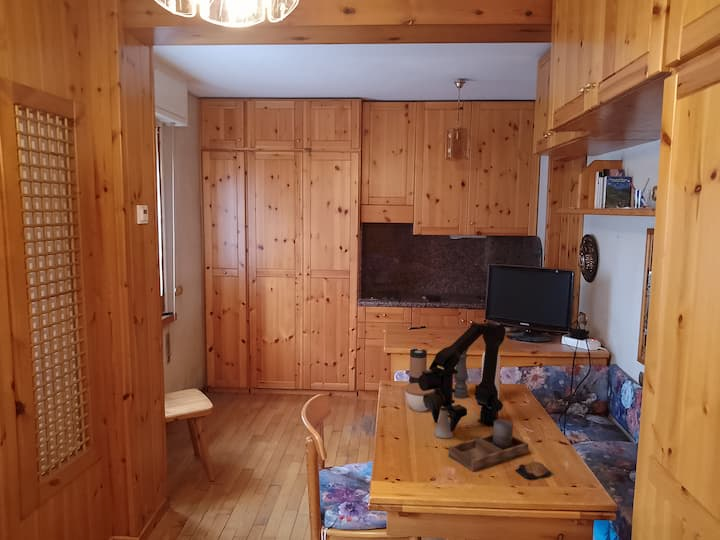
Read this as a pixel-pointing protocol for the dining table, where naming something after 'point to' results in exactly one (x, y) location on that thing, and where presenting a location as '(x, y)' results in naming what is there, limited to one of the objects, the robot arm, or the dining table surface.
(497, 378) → the bottle
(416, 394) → the lidded bowl
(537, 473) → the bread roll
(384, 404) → the dining table surface
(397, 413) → the dining table surface
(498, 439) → the cruet stand
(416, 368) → the travel mug
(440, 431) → the flask
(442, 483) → the dining table surface
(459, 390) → the candle holder
